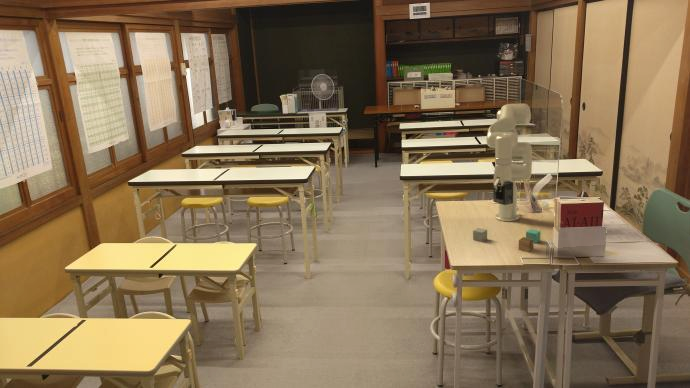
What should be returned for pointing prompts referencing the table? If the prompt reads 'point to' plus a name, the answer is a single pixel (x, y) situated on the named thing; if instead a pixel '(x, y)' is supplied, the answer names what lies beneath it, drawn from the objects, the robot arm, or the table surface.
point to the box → (504, 194)
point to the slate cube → (480, 234)
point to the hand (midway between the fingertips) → (503, 196)
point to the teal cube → (533, 235)
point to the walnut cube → (526, 244)
